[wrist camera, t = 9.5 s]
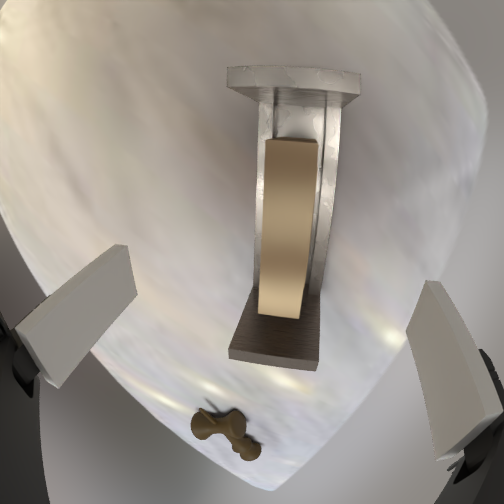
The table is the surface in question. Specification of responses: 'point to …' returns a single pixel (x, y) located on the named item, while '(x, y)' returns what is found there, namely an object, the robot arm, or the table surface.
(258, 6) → the table surface
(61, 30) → the table surface
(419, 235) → the table surface
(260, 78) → the grey u-shaped piece
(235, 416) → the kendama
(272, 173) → the door panel
